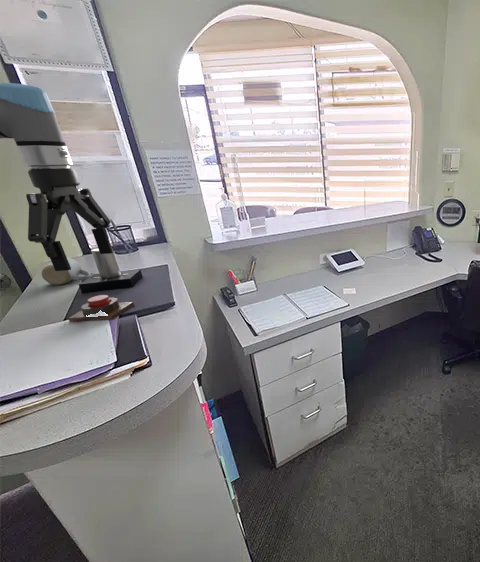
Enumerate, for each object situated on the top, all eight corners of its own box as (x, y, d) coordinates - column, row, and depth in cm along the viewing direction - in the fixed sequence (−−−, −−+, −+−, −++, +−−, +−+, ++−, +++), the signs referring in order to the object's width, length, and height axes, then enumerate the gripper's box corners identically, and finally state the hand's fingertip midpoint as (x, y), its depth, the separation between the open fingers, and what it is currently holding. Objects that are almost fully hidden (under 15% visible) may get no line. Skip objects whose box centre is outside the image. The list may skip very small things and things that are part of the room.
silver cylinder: (117, 277, 97) (107, 248, 94) (98, 279, 96) (87, 250, 92) (123, 272, 102) (114, 245, 98) (105, 274, 100) (95, 246, 97)
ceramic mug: (44, 287, 98) (34, 264, 96) (56, 279, 105) (48, 258, 103) (86, 282, 102) (78, 260, 100) (95, 275, 109) (88, 254, 107)
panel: (81, 293, 93) (78, 284, 92) (97, 282, 102) (93, 273, 101) (132, 287, 97) (129, 278, 96) (143, 277, 106) (140, 268, 105)
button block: (71, 326, 74) (64, 311, 73) (96, 311, 82) (91, 297, 80) (114, 323, 75) (109, 309, 73) (135, 309, 82) (131, 295, 81)
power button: (85, 308, 75) (82, 301, 74) (97, 301, 79) (95, 295, 78) (102, 307, 75) (100, 300, 75) (114, 300, 79) (112, 294, 78)
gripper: (13, 168, 56) (60, 278, 64) (109, 166, 79) (135, 247, 87) (-33, 169, 55) (20, 280, 63) (78, 167, 78) (107, 248, 86)
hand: (87, 261), depth 75 cm, fingers open, 13 cm apart
